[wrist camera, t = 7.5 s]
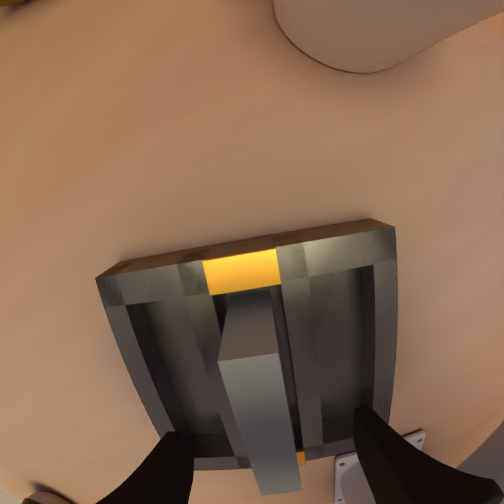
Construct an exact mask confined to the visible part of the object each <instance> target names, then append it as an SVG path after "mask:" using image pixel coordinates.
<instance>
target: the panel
mask: <svg viewBox="0 0 504 504" xmlns="http://www.w3.org/2000/svg"><path fill="white" fill-rule="evenodd" d="M218 365H219V368H220V371H221V375H222V378H223V381H224V385H225V388H226V391H227V395H228V398H229V401H230V404H231V407H232V411H233V414H234V417H235V420H236V423H237V426H238V429H239V432H240V435H241V438H242V441H243V444H244V447H245V450H246V453H247V456H248V458H249V461H250V464H251V467H252V470H253V472H254V475H255V478H256V481H257V483H258V486H259V489H260V491H261V494H262V495H268V494H277V493H285V492H292V491H299V490H301V483H300V476H299V469H298V462H297V455H296V448H295V441H294V434H293V427H292V421H291V414H290V408H289V402H288V396H287V390H286V384H285V378H284V372H283V366H282V361H281V355H280V349H279V343H278V337H277V331H276V326H275V320H274V314H273V308H272V303H271V297H270V291H269V289H267V290H262V291H256V292H250V293H244V294H238V295H232V296H230V298H229V304H228V309H227V314H226V319H225V324H224V330H223V335H222V340H221V346H220V351H219V356H218Z"/></svg>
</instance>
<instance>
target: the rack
mask: <svg viewBox="0 0 504 504" xmlns="http://www.w3.org/2000/svg"><path fill="white" fill-rule="evenodd" d="M95 280H96V283H97V286H98V290H99V293H100V296H101V299H102V302H103V305H104V308H105V311H106V314H107V317H108V320H109V323H110V326H111V329H112V331H113V334H114V337H115V339H116V342H117V345H118V347H119V350H120V352H121V355H122V357H123V360H124V362H125V365H126V367H127V369H128V372H129V374H130V376H131V379H132V381H133V383H134V386H135V388H136V390H137V392H138V394H139V396H140V399H141V401H142V403H143V405H144V407H145V409H146V411H147V413H148V415H149V417H150V419H151V421H152V423H153V425H154V427H155V429H156V431H157V433H158V434H159V436H160V438H162V437H163V436H164V435H165V433H166V432H167V431H181V433H182V435H183V438H184V440H185V442H186V444H187V446H188V448H189V450H190V452H191V454H192V456H193V458H194V470H231V469H246V468H252V467H251V464H250V461H249V458H248V456H247V453H246V450H245V447H244V444H243V441H242V438H241V435H240V432H239V429H238V426H237V423H236V420H235V417H234V414H233V411H232V407H231V404H230V401H229V398H228V395H227V391H226V388H225V385H224V381H223V378H222V375H221V371H220V368H219V365H218V356H219V351H220V346H221V340H222V335H223V330H224V324H225V319H226V314H227V309H228V304H229V298H230V296H232V295H238V294H244V293H250V292H256V291H262V290H267V289H269V291H270V297H271V303H272V308H273V314H274V320H275V326H276V331H277V337H278V343H279V349H280V355H281V361H282V366H283V372H284V378H285V384H286V390H287V396H288V402H289V408H290V414H291V421H292V427H293V434H294V441H295V448H296V455H297V462H298V466H299V465H305V464H306V463H305V461H308V460H313V459H319V458H324V457H328V456H333V455H338V454H342V453H346V452H350V451H354V450H356V449H355V445H354V441H353V427H354V409H355V408H359V407H363V406H366V405H369V406H371V407H372V408H373V410H374V411H375V412H376V413H377V414H378V415H379V416H380V417H381V418H382V419H383V420H384V421H385V422H386V423H387V424H388V423H389V416H390V409H391V401H392V393H393V383H394V372H395V360H396V343H397V316H398V280H397V252H396V235H395V227H394V226H391V225H388V224H385V223H383V222H380V221H377V220H374V219H371V218H369V219H363V220H357V221H351V222H344V223H338V224H332V225H326V226H320V227H314V228H308V229H302V230H296V231H290V232H284V233H278V234H272V235H266V236H260V237H255V238H249V239H243V240H237V241H232V242H226V243H220V244H214V245H209V246H203V247H198V248H192V249H186V250H181V251H175V252H170V253H164V254H159V255H154V256H148V257H143V258H137V259H132V260H127V261H121V262H119V263H117V264H116V265H114V266H113V267H111V268H110V269H108V270H107V271H105V272H104V273H102V274H101V275H99V276H98V277H96V278H95Z"/></svg>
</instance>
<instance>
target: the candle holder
mask: <svg viewBox="0 0 504 504" xmlns="http://www.w3.org/2000/svg"><path fill="white" fill-rule="evenodd" d="M272 2H273V10H274V14H275V17H276V20H277V22H278V24H279V26H280V28H281V29H282V31H283V32H284V34H285V35H286V36H287V37H288V39H289V40H290V41H291V42H292V43H293V44H294V45H295V46H296V47H298V48H299V49H300V50H301V51H303V52H304V53H305V54H307V55H308V56H310V57H312V58H313V59H315V60H317V61H319V62H321V63H323V64H325V65H328V66H330V67H333V68H336V69H339V70H343V71H348V72H354V73H373V72H379V71H383V70H386V69H389V68H391V67H393V66H396V65H398V64H399V63H401V62H403V61H405V60H407V59H409V58H411V57H412V56H414V55H416V54H418V53H420V52H422V51H424V50H425V49H427V48H429V47H431V46H433V45H435V44H437V43H439V42H441V41H443V40H444V39H446V38H448V37H450V36H452V35H454V34H456V33H458V32H460V31H462V30H464V29H467V28H469V27H471V26H473V25H475V24H477V23H479V22H481V21H484V20H486V19H488V18H490V17H493V16H495V15H497V14H500V13H502V12H504V0H272Z"/></svg>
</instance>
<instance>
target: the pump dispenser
mask: <svg viewBox="0 0 504 504" xmlns="http://www.w3.org/2000/svg"><path fill="white" fill-rule="evenodd" d="M22 504H71V503H70V502H68V501H67V500H65V499H63V498H62V497H60V496H58V495H55V494H53V493H49V492H36V493H34V494H32V495H30V496H29V497H28V498H25V499H24V500H23V502H22Z"/></svg>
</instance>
